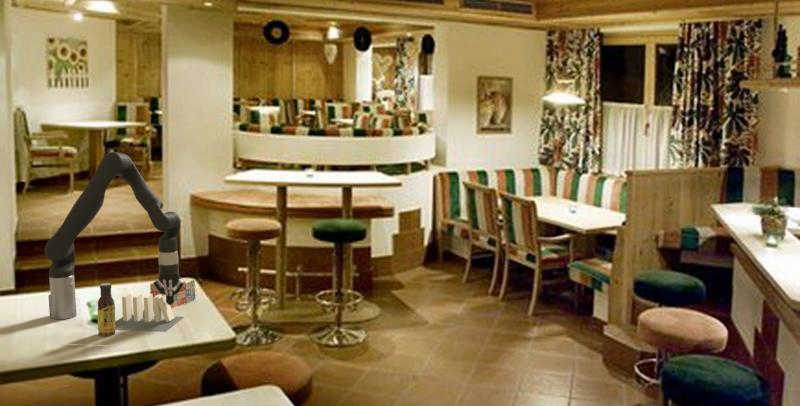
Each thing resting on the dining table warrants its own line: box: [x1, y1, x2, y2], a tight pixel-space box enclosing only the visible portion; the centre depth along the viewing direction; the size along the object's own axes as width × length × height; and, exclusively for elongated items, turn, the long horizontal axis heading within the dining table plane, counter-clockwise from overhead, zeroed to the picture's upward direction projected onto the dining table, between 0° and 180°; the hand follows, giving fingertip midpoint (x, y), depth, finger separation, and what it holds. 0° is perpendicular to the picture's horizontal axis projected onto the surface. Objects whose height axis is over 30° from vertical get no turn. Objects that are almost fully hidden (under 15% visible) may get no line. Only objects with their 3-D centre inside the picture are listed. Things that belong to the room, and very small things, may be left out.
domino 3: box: [143, 293, 155, 322], centre depth 305 cm, size 2×5×10 cm, turn 175°
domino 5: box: [157, 295, 175, 322], centre depth 304 cm, size 2×5×10 cm, turn 173°
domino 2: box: [132, 293, 144, 321], centre depth 306 cm, size 2×5×10 cm, turn 175°
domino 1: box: [121, 292, 133, 321], centre depth 306 cm, size 2×5×10 cm, turn 175°
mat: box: [115, 314, 185, 333], centre depth 302 cm, size 25×19×1 cm
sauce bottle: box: [97, 282, 117, 338], centre depth 287 cm, size 6×6×20 cm
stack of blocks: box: [149, 277, 196, 311], centre depth 327 cm, size 21×6×12 cm, turn 156°
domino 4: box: [153, 294, 164, 322], centre depth 305 cm, size 2×5×10 cm, turn 174°
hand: (170, 304), depth 304 cm, fingers closed
